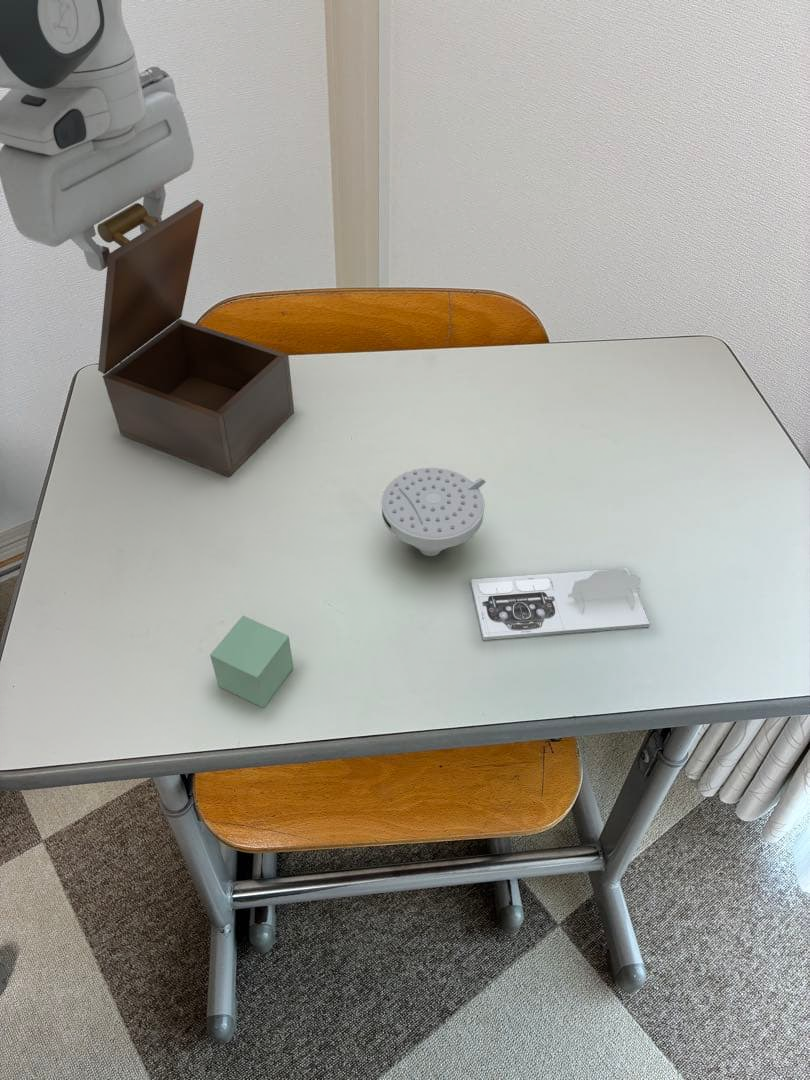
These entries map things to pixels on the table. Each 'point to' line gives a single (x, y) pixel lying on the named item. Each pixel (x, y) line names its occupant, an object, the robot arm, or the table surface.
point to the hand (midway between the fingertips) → (127, 249)
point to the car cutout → (558, 603)
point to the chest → (201, 395)
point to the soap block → (252, 661)
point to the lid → (145, 278)
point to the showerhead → (433, 508)
